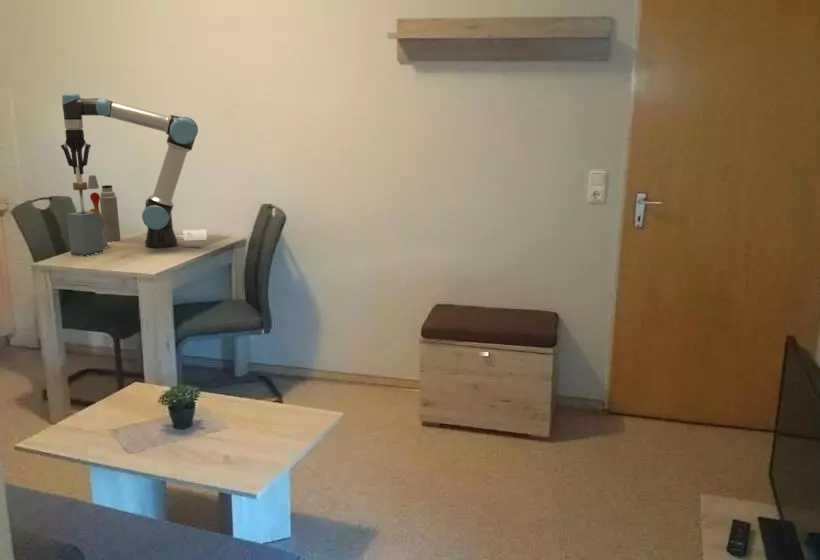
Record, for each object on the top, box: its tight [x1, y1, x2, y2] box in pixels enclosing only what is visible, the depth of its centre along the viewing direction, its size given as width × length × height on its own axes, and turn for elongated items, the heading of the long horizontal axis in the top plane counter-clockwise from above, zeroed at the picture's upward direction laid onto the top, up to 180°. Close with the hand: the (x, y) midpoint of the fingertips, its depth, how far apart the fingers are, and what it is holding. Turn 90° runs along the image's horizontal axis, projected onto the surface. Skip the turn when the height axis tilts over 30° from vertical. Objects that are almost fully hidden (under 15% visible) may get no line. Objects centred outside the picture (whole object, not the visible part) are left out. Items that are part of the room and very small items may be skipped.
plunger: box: [72, 181, 89, 214], centre depth 355 cm, size 8×8×22 cm
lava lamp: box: [87, 174, 109, 249], centre depth 371 cm, size 9×9×35 cm
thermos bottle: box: [99, 184, 121, 243], centre depth 390 cm, size 8×8×28 cm
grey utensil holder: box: [66, 210, 104, 257], centre depth 358 cm, size 10×10×19 cm
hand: (79, 181), depth 353 cm, fingers closed
